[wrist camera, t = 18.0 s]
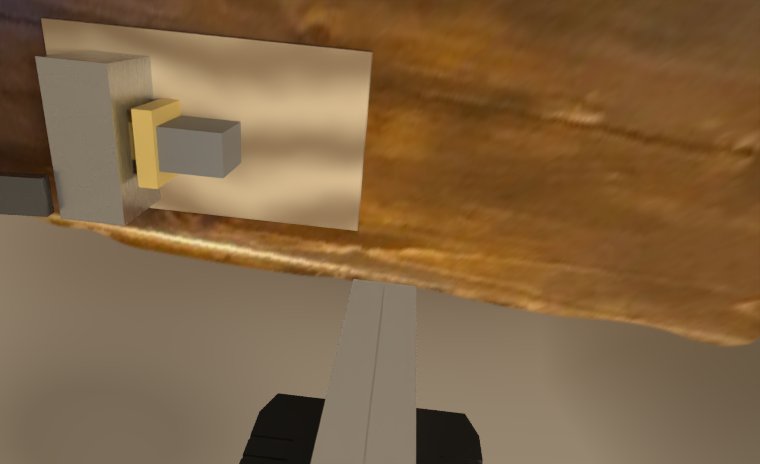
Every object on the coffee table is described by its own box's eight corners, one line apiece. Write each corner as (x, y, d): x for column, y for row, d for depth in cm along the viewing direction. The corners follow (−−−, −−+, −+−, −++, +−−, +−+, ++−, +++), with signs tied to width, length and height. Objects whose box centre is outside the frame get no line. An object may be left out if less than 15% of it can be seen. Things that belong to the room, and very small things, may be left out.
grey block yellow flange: (65, 88, 43) (23, 97, 38) (240, 106, 42) (219, 117, 38) (75, 159, 45) (37, 176, 41) (241, 176, 45) (221, 195, 40)
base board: (49, 18, 42) (40, 18, 41) (372, 51, 41) (372, 52, 40) (75, 195, 48) (68, 198, 47) (358, 226, 47) (357, 230, 46)
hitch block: (88, 49, 41) (34, 56, 36) (150, 56, 41) (106, 63, 36) (105, 192, 46) (61, 218, 40) (161, 198, 46) (124, 225, 40)
